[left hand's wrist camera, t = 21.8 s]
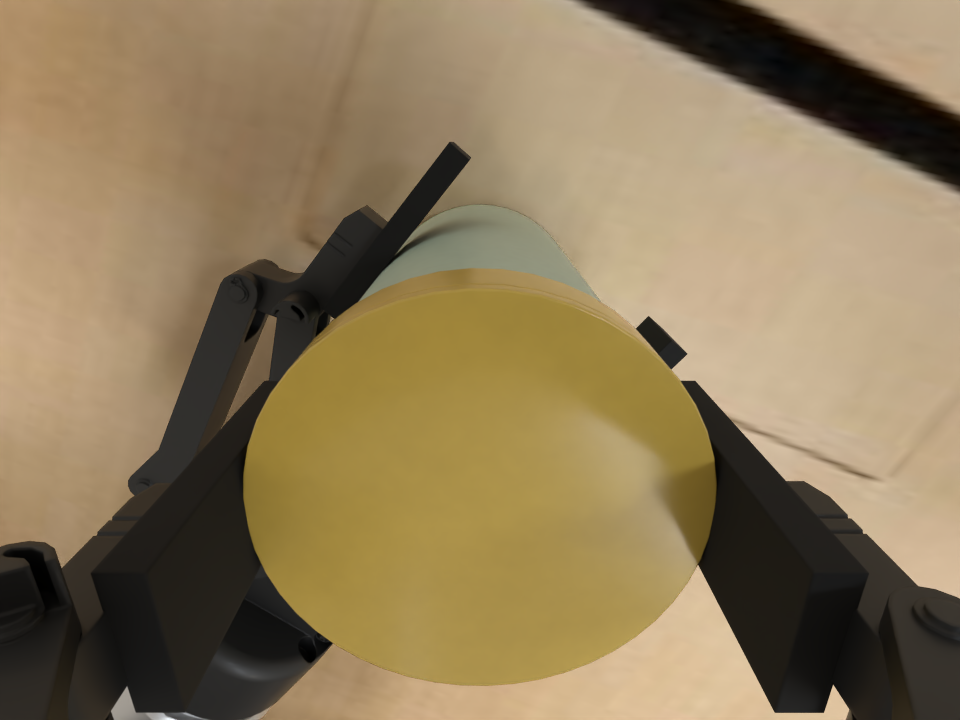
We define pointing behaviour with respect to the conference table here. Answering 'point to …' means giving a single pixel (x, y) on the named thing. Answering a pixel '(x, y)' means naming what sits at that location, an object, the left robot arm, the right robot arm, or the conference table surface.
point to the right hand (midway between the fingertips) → (569, 247)
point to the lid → (479, 480)
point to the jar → (480, 248)
